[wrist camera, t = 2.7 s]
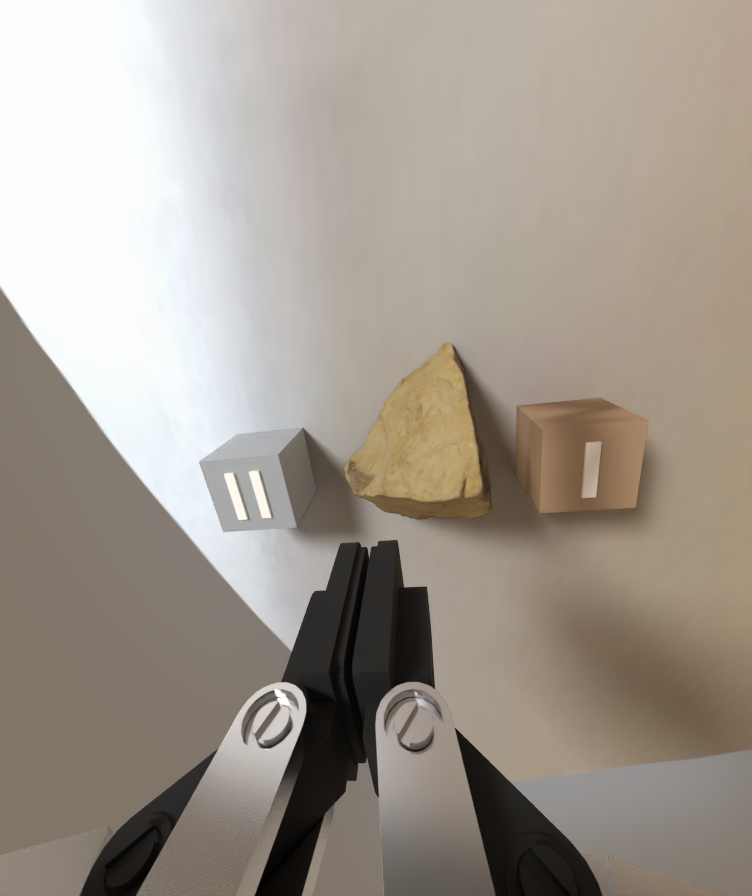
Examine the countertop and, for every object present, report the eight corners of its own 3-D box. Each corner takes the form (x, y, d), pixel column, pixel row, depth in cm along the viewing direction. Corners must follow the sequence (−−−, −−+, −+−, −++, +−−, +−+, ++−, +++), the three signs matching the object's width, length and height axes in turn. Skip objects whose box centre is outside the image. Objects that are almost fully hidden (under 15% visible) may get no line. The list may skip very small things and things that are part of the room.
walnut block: (599, 397, 22) (650, 421, 17) (592, 471, 24) (636, 511, 19) (516, 405, 23) (543, 431, 18) (515, 476, 25) (540, 517, 20)
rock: (359, 539, 25) (504, 520, 22) (285, 542, 17) (494, 512, 14) (345, 401, 28) (471, 365, 25) (278, 351, 20) (447, 288, 17)
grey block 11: (303, 427, 25) (276, 455, 20) (317, 491, 27) (296, 530, 22) (238, 434, 26) (197, 462, 21) (256, 495, 27) (222, 535, 23)
